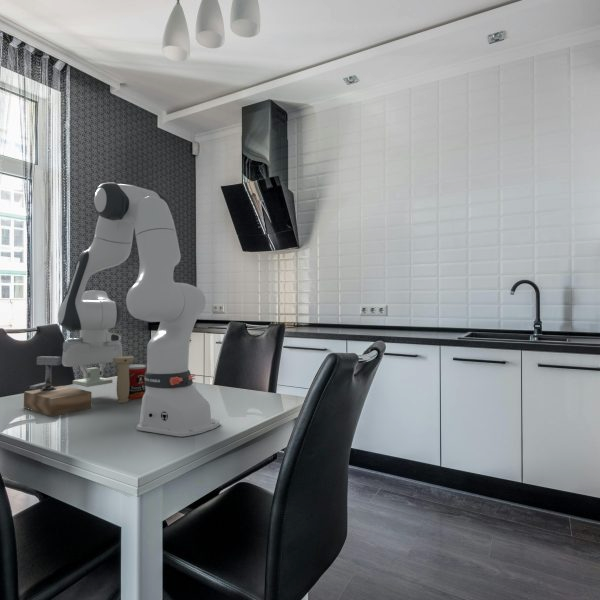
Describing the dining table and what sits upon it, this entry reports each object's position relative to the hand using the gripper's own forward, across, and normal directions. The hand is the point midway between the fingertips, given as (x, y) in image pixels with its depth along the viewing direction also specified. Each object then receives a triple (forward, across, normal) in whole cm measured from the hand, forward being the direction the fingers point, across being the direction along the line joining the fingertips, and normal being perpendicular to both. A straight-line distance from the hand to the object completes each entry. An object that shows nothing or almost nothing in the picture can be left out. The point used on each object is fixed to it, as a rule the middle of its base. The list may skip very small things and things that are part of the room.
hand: (93, 376), depth 145 cm
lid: (+2, 0, 0) cm, 2 cm away
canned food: (+8, +9, -10) cm, 16 cm away
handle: (+8, +2, -14) cm, 16 cm away
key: (+2, -16, +1) cm, 16 cm away
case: (+7, -14, -4) cm, 16 cm away
